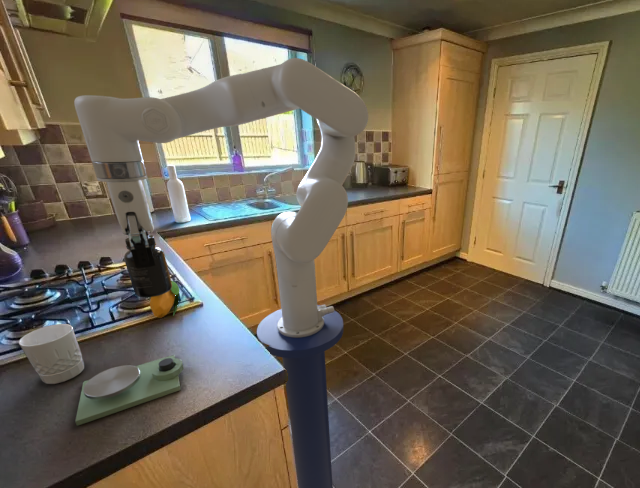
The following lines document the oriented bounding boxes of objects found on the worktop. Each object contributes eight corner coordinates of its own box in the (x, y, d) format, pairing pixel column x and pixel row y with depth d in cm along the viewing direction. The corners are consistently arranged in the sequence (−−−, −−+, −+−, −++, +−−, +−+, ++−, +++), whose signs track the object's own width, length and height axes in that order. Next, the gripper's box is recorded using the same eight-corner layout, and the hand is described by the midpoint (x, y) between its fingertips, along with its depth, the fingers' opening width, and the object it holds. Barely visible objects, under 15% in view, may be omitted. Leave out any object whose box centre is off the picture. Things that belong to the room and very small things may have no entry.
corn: (176, 271, 102) (172, 298, 86) (183, 292, 105) (181, 322, 89) (148, 276, 99) (139, 306, 83) (156, 298, 102) (149, 331, 86)
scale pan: (140, 362, 70) (139, 359, 70) (141, 387, 64) (139, 384, 63) (87, 378, 65) (85, 375, 65) (81, 407, 59) (80, 403, 59)
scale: (181, 356, 76) (179, 347, 75) (187, 387, 67) (185, 378, 66) (85, 385, 67) (80, 376, 66) (77, 426, 58) (72, 415, 57)
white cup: (40, 371, 71) (21, 332, 67) (88, 357, 75) (72, 319, 71) (37, 392, 65) (15, 351, 61) (88, 375, 70) (71, 336, 66)
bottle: (172, 220, 184) (159, 165, 172) (187, 218, 190) (175, 164, 178) (178, 223, 179) (165, 166, 168) (193, 220, 185) (182, 165, 173)
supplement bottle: (180, 288, 72) (167, 236, 67) (148, 301, 66) (131, 245, 61) (160, 281, 75) (146, 231, 70) (127, 293, 69) (110, 239, 64)
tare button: (174, 362, 71) (172, 356, 70) (175, 369, 69) (173, 363, 68) (159, 366, 70) (158, 360, 69) (160, 373, 68) (158, 367, 67)
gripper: (145, 176, 56) (169, 271, 63) (145, 166, 69) (165, 246, 76) (88, 178, 52) (121, 279, 59) (100, 167, 65) (125, 251, 72)
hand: (145, 260), depth 68 cm, fingers closed on supplement bottle, 6 cm apart
